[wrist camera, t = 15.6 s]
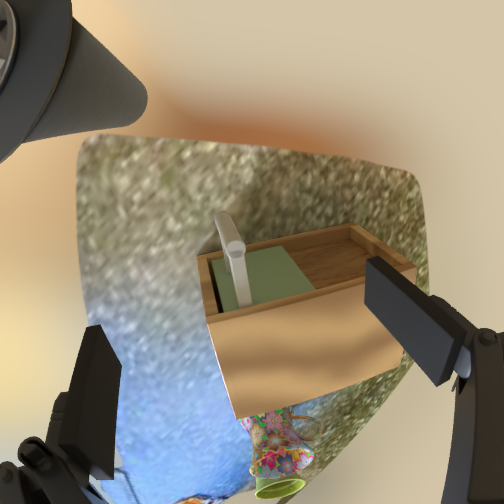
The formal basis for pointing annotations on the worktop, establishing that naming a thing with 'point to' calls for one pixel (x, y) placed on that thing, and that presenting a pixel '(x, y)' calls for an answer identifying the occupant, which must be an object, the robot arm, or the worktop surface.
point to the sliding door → (253, 271)
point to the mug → (278, 443)
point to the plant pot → (278, 486)
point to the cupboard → (304, 324)
